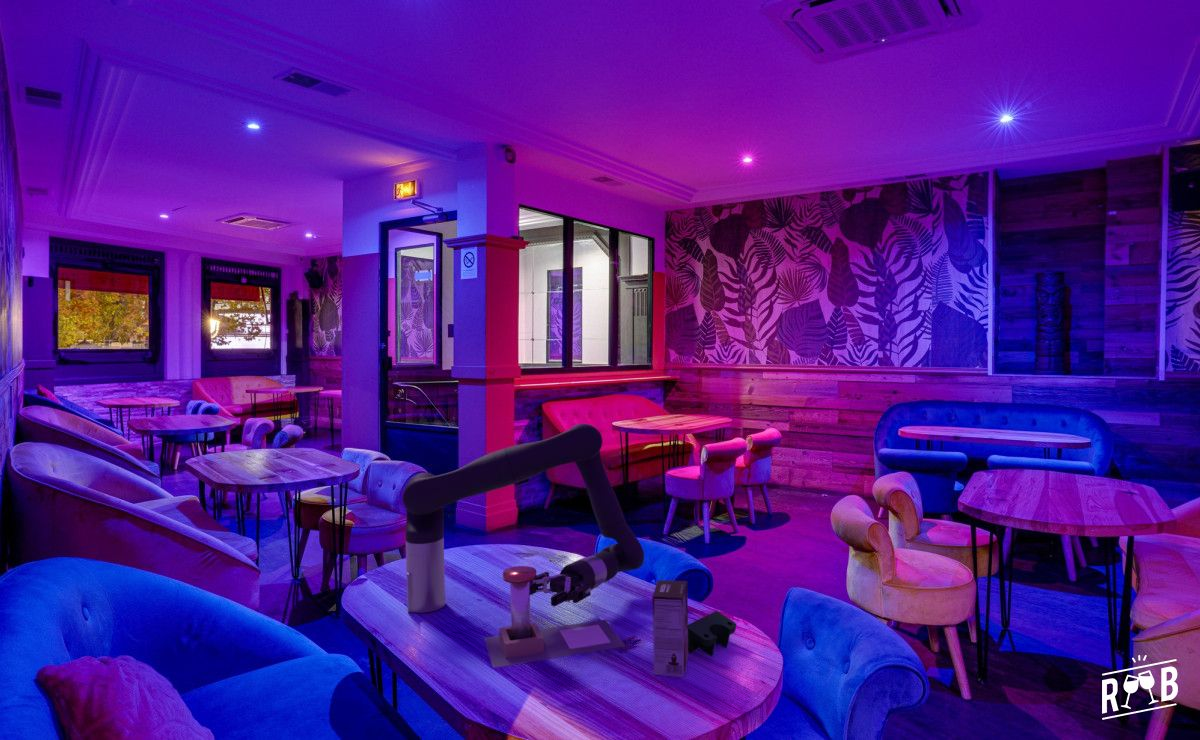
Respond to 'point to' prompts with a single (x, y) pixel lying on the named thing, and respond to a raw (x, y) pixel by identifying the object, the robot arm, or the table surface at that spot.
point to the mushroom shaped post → (520, 599)
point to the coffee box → (670, 628)
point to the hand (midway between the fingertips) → (537, 597)
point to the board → (551, 643)
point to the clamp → (710, 632)
